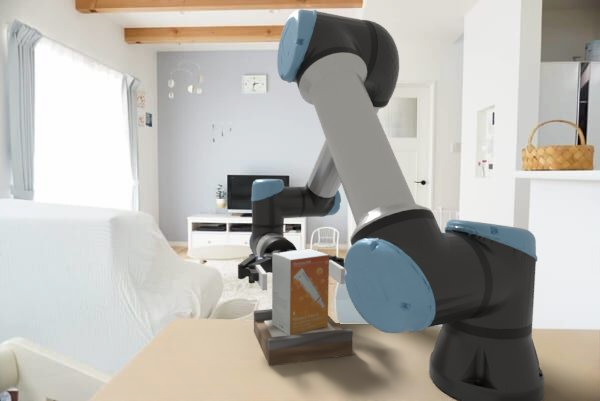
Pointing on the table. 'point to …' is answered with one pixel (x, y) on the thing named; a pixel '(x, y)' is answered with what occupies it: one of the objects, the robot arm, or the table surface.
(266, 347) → the tray
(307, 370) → the table surface
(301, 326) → the small box
